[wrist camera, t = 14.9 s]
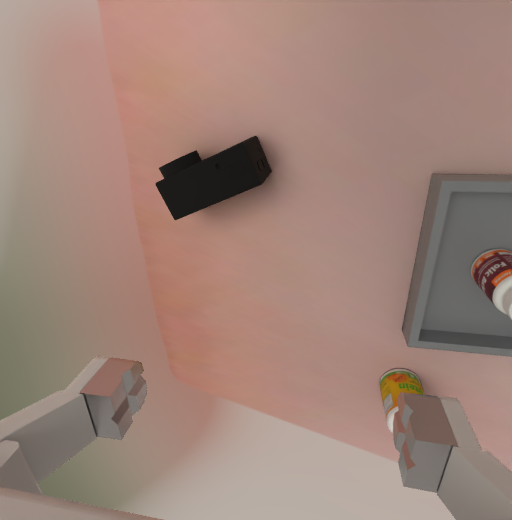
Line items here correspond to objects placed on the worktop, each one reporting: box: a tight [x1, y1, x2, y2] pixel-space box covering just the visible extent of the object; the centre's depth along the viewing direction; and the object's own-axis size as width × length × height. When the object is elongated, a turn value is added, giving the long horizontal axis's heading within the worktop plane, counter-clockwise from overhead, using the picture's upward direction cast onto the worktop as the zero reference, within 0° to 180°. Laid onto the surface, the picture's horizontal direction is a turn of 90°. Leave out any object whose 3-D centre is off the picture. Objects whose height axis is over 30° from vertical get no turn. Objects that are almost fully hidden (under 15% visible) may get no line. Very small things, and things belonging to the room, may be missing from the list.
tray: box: [402, 174, 512, 357], centre depth 37 cm, size 20×16×4 cm
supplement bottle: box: [380, 369, 425, 433], centre depth 43 cm, size 5×5×10 cm
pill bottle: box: [471, 249, 512, 319], centre depth 34 cm, size 5×5×8 cm
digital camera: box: [156, 136, 272, 220], centre depth 36 cm, size 10×5×7 cm, turn 115°
